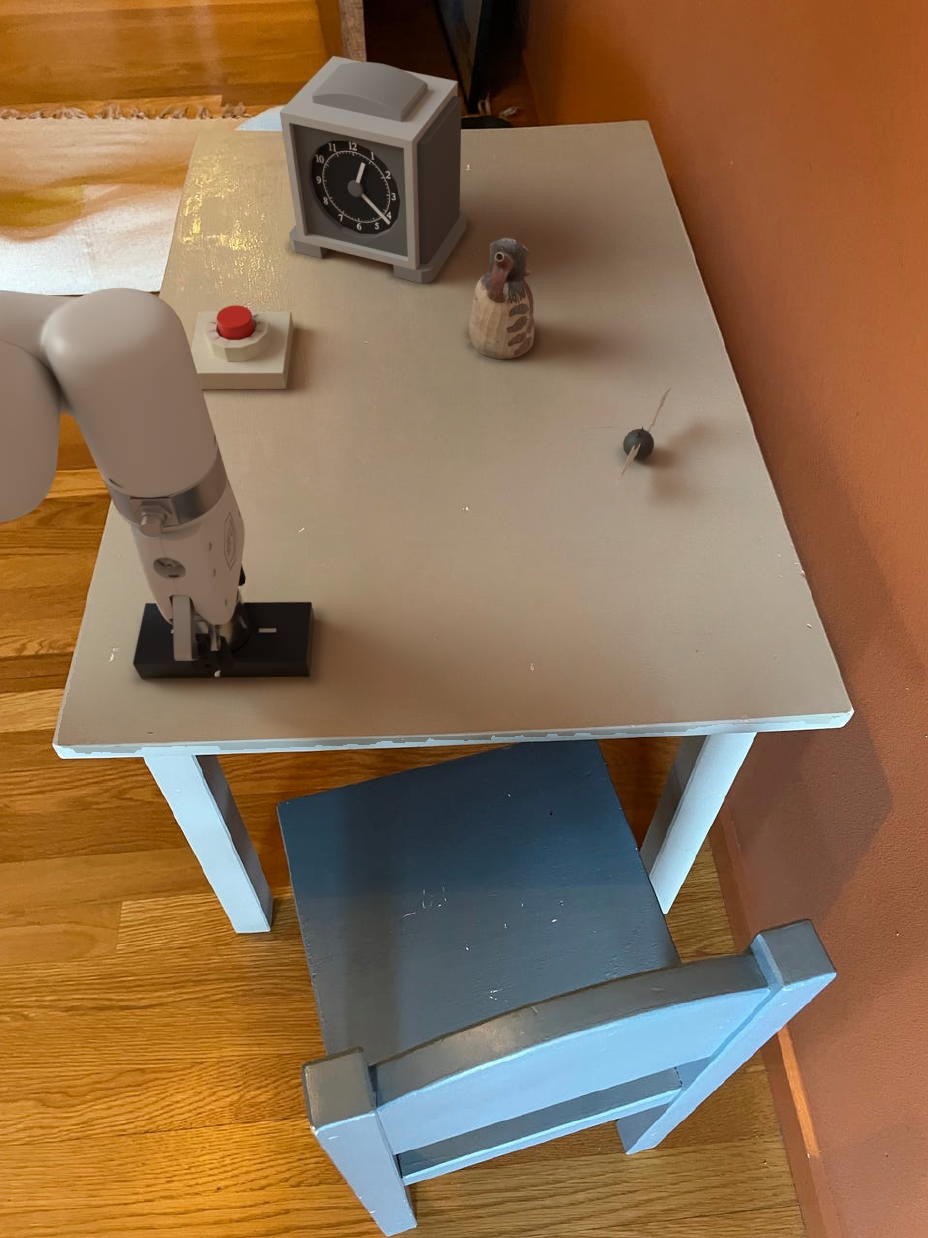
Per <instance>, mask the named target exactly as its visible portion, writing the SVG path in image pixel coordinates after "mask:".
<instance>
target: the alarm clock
mask: <svg viewBox="0 0 928 1238" xmlns="http://www.w3.org/2000/svg"><path fill="white" fill-rule="evenodd" d="M458 83H459V82H458V81H457V80H453V79H447V78H442V77H438V76H433V75H428V74H424V73H417V72H414V71H409V70H404V69H400V68H398V67H395V66H391V65H388V64H385V63H380V62H371V61H359V60H354V59H350V58H345V57H341V56H335V55H332V56H331V58H329V60H328V61H327V62H326V63H325V64H324V65H323V66H322V67H321V68H320V69H319V70H318V71H317V72H315V75H313V76H312V77H311V79H309V80H308V82H307V83H306V84H305V85H303V87H302V88H301V89H299V91H298V92H297V93H296V94H295V95H294V96H293V97H292V98H291V99H290V100H289V101H288V102H287V103H286V104H285V106H284V107H283V108H282V109H281V110H280V111H279V117H280V125H281V131H282V137H283V145H284V150H285V159H286V165H287V172H288V179H289V185H290V193H291V200H292V207H293V212H294V220H295V225H294V226H293V228H292V229H291V230H290V232H289V241H290V246H291V250H292V251H294V252H295V253H297V254H298V253H299V254H302V255H306V256H310V257H315V258H318V259H322V258H323V257H324V256H325V255H326V253H328V251H329V250H333V251H336V252H341V253H345V254H349V255H353V256H357V257H362V258H365V259H368V260H374V261H378V262H381V263H385V264H390V265H392V266H393V277H394V278H398V279H402V280H407V281H410V282H414V283H419V284H429V283H430V282H433V281H435V278H436V276H437V275H438V273H439V272H440V270H441V268H442V267H443V265H444V264H445V263H446V261H447V260H448V258H449V256H450V255H451V253H452V251H453V250H454V249H455V247H456V245H457V243H458V242H459V241H460V239H461V237H462V236H463V234H464V233H465V231H466V230H467V215H466V212H464V211H463V210H462V209H461V164H462V163H461V162H462V160H461V156H462V155H461V153H462V99H463V98H462V97H461V96H458V87H459V86H458V85H459V84H458Z"/></svg>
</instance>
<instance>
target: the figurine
mask: <svg viewBox="0 0 928 1238" xmlns="http://www.w3.org/2000/svg"><path fill="white" fill-rule="evenodd" d="M529 254H530V251H529V249H528V248H527V247H526V246H524V245H522V244H521V243H519V242H517V241H516V240H515V239H513V238H510V237H504V238H501V239H497V240H495V241H493V242H491V243H490V244H489V267H490V270H489V271H488V272H486V273H484V274H483V275H482V276H481V277H480V279H479V280H478V281H477V284H476V286H475V289H474V292H473V299H472V303H471V309H470V318H469V323H468V333H469V338H470V342H471V344H472V346H473V347H474V349H475V350H476V351H477V352H478V353H480V354H482V355H483V356H485V357H489V358H492V359H497V360H510V359H517V358H519V357H521V356H522V355H525V354H526V353H527V352H528V351H530V349H531V348H532V347H533V345H534V339H535V333H536V323H535V318H534V309H535V307H534V295H533V291H532V289H531V287H530V285H529V284H528V282H527V281H526V280H525V278H526V277H529V276H530V275H531V271H530V270H529V269H527V266H528V265H527V264H528V259H529Z"/></svg>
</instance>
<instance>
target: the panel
mask: <svg viewBox="0 0 928 1238" xmlns="http://www.w3.org/2000/svg"><path fill="white" fill-rule="evenodd" d="M243 603H244V606H245V609H246V613H247V616H248V619H249V622H250V626H251V631H250V635H249V637H248V639H247V641H246V642H245V643H244V644H243V645H242V646H241V647H239V648H238V649H236V650H234V651H232V652H231V654H232V657H233V659H234V668H233V669H231V670H219V671H218V672H203V671H201V670H196V669H194V668H193V667H192V665H191V663H190V661H176V660H175V658H174V637H173V624H170V623H169V622H168V621H167V620H166V619H165V618H164V617H163V615H162V614H161V612H160V610H159V608H158V606H157V604H156V602H145V603H144V608H143V613H142V617H141V622H140V626H139V627H140V628H139V632H138V637H137V641H136V646H135V651H134V656H133V660H132V665H133V667H134V669H135V670H136V672H137V675H138V676H139V678H140V679H141V680H153V679H154V680H155V679H157V680H160V679H162V680H165V679H166V680H167V679H248V678H249V679H250V678H251V679H255V678H256V679H259V678H265V679H266V678H267V679H268V678H310V677H311V670H312V669H311V668H312V657H313V644H314V633H315V632H314V631H315V622H316V621H315V619H316V618H315V617H316V616H315V613H314V607H313V603H312V601H277V602H276V601H260V602H259V601H258V602H257V601H256V602H255V601H253V602H252V601H251V602H249V601H248V602H245V601H243Z"/></svg>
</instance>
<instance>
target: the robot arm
mask: <svg viewBox="0 0 928 1238" xmlns="http://www.w3.org/2000/svg"><path fill="white" fill-rule="evenodd" d="M63 414H64V415H68V416H70V417H72V418H73V419H74V420H75V422H76V424H77V426H78V429H79V431H80V433H81V435H82V437H83V439H84V442H85V444H86V446H87V448H88V450H89V453H90V455H91V457H92V459H93V462H94V464H95V466H96V468H97V470H98V473H99V474H100V476H101V478H102V481H103V483H104V485H105V488H106V489H107V492H108V494H109V496H110V499H111V500H112V503H113V505H114V507H115V510H116V511H117V513H118V515H119V517H121V518H122V519H123V521H125V522H126V523H128V525H130V529H131V534H132V538H133V543H134V545H135V549H136V552H137V555H138V558H139V559H138V560H139V563H140V566H141V568H142V571H143V574H144V577H145V580H146V582H147V585H148V587H149V590H150V593H151V595H152V597H153V600H154V603H156V604H157V606H158V608H159V610H160V612H161V614H162V615H163V617H164V618H165V619H166V620H167V621H168V622H169V623H170V624H173V637H174V658H175V660H176V661H190V663H191V665H192V667H193V668H194V669H196V670H201V671H203V672H218V671H219V670H231V669H233V668H234V659H233V657H232V654H231V651H230V649H229V646H228V643H227V640H226V638H225V637H224V636H220V632H219V624H226V623H227V622H228V621H229V620H230V619H231V617H232V616H233V613H234V609H235V604H236V598H237V591H238V588H239V587H242V586H244V585H246V579H247V577H246V573H245V570H244V567H243V564H242V562H243V554H244V548H245V536H246V535H245V533H246V531H245V523H244V519H243V516H242V514H241V510H240V507H239V505H238V502H237V498H236V496H235V493H234V490H233V488H232V485H231V482H230V479H229V477H228V475H227V470H226V467H225V464H224V460H223V457H222V456H223V455H222V453H221V450H220V447H219V442H218V440H217V436H216V432H215V429H214V425H213V423H212V419H211V415H210V412H209V409H208V405H207V402H206V398H205V395H204V391H203V389H202V388H201V384H200V381H199V377H198V374H197V370H196V367H195V363H194V360H193V356H192V353H191V346H190V343H189V339H188V336H187V332H186V330H185V327H184V324H183V322H182V320H181V319H180V316H179V315H178V314H177V312H176V311H175V310H174V309H173V307H172V306H171V305H170V304H168V303H167V302H166V301H165V300H164V299H162V298H160V297H159V296H158V295H156V294H154V293H151V292H149V291H145V290H142V289H137V288H131V287H129V288H128V287H111V288H110V287H109V288H103V289H98V290H95V291H91V292H89V293H85V294H83V295H81V296H66V295H65V296H64V295H50V294H40V293H33V292H22V291H13V290H3V289H0V524H1V523H7V522H11V521H14V520H18V519H20V518H22V517H24V516H26V515H29V514H30V513H32V512H33V511H34V510H35V509H37V508H38V507H40V505H41V504H42V503H43V502H44V500H45V499H46V497H47V496H48V495H49V493H50V492H51V489H52V487H53V484H54V482H55V478H56V476H57V465H58V459H59V458H58V456H59V444H60V428H61V427H60V425H61V424H60V423H61V415H63ZM195 622H207V626H208V633H195Z"/></svg>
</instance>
